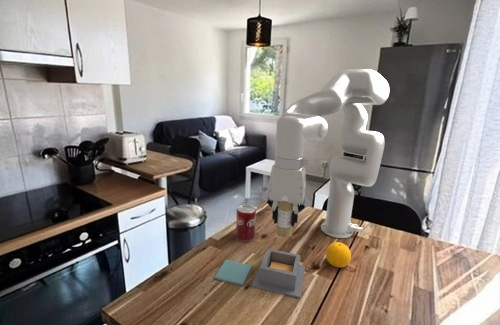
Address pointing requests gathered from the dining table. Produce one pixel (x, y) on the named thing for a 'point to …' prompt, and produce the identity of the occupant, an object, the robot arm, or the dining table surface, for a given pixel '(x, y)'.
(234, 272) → the teal mat
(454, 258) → the dining table surface
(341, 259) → the orange citrus fruit
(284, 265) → the button
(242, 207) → the soda can
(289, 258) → the frame
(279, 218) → the sprinkles bottle
